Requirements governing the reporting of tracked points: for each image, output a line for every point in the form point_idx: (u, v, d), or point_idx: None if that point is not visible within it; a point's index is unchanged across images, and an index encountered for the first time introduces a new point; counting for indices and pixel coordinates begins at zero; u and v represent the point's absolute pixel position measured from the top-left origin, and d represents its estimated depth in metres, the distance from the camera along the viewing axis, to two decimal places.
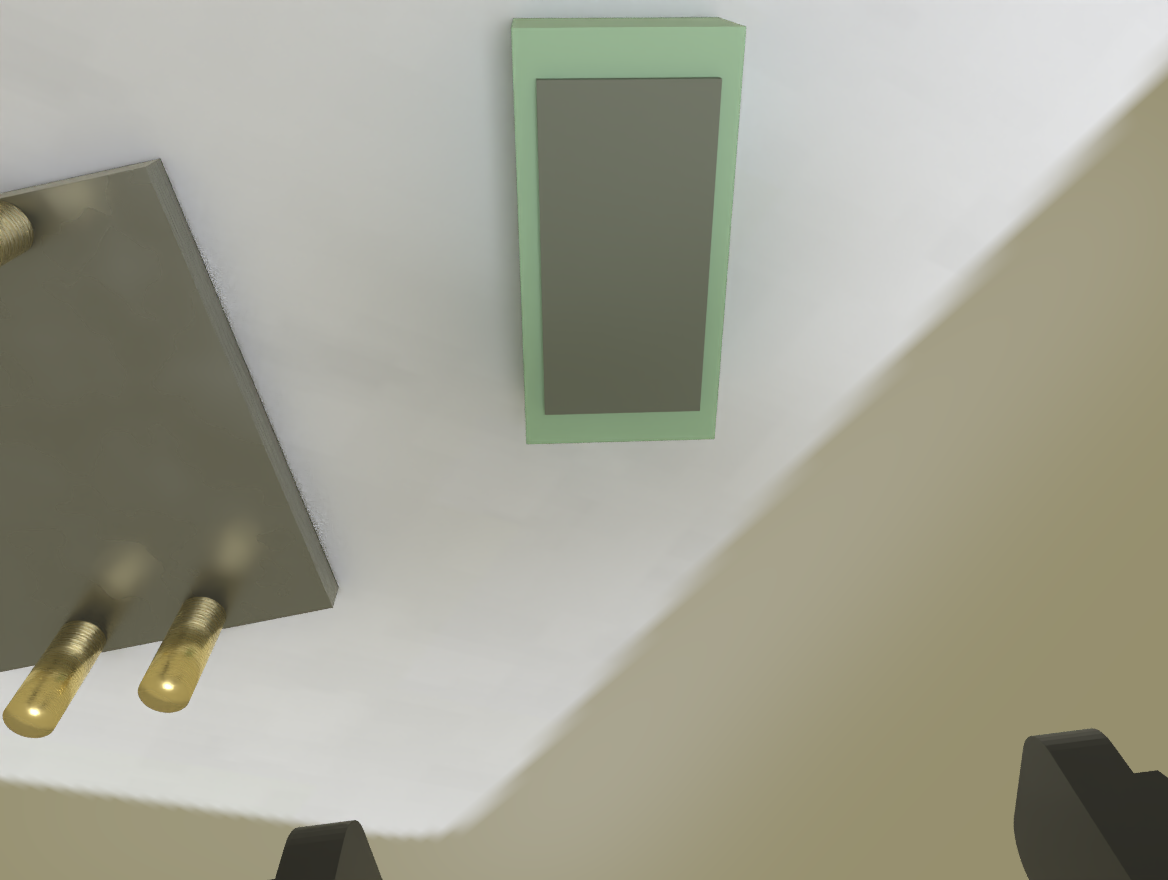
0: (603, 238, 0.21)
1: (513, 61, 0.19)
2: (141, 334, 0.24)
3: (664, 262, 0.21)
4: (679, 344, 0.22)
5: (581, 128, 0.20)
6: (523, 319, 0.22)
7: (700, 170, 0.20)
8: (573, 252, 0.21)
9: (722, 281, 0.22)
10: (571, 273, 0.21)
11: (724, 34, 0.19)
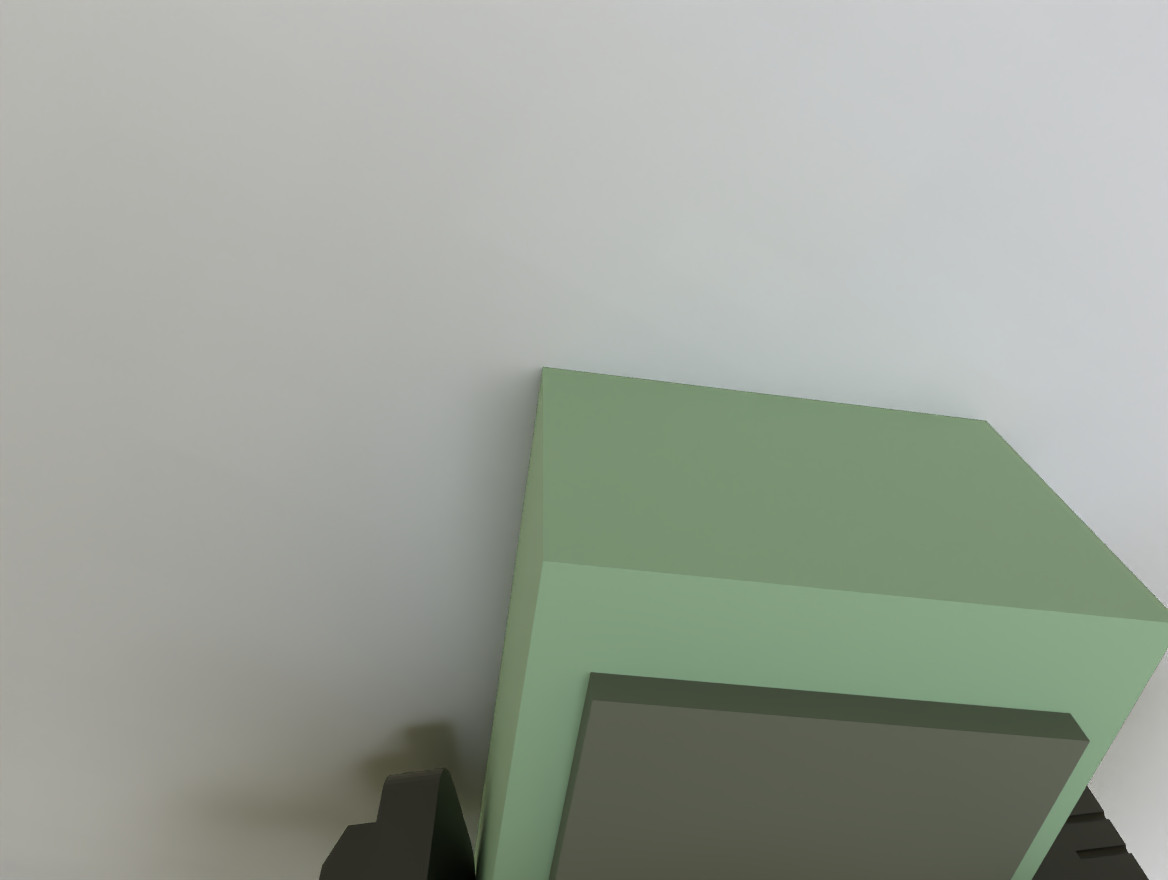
0: None
1: (535, 630, 0.07)
2: None
3: None
4: None
5: (691, 800, 0.07)
6: None
7: None
8: None
9: None
10: None
11: (1119, 633, 0.07)
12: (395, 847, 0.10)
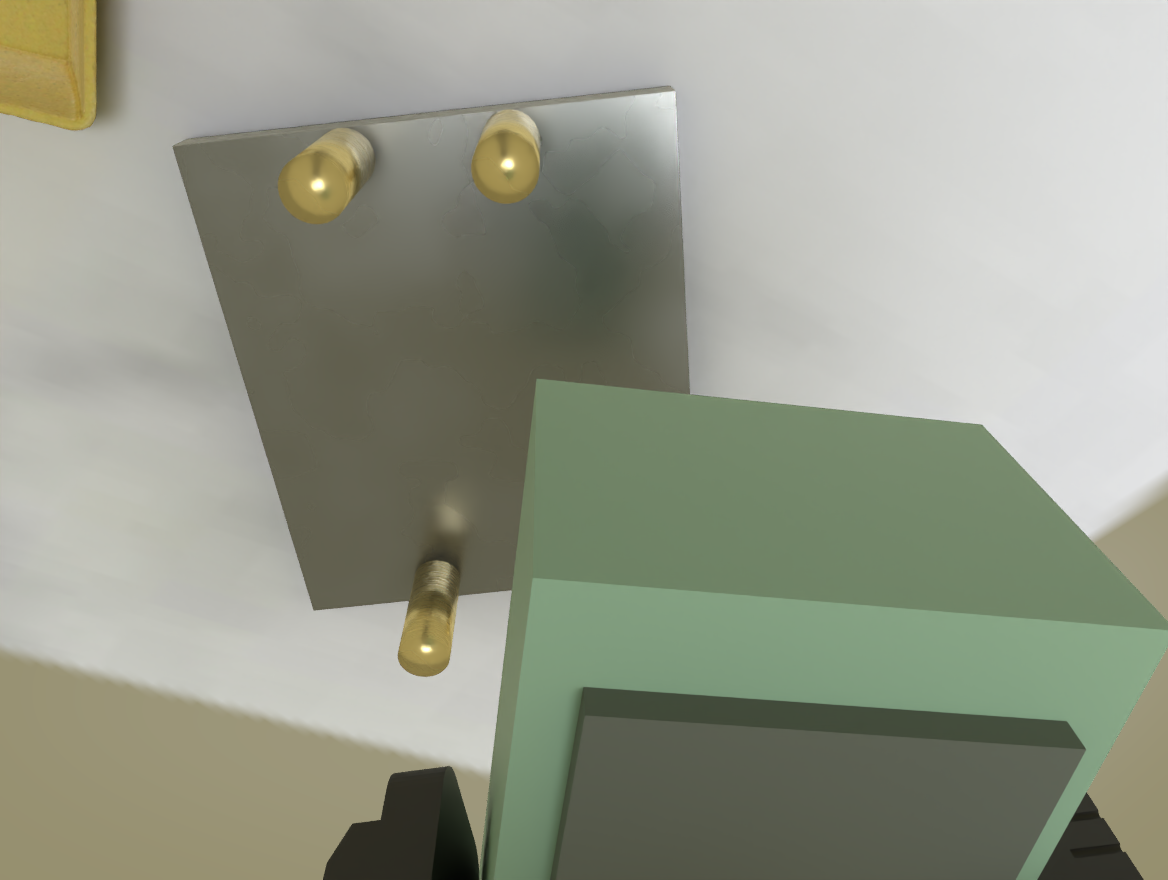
0: None
1: (526, 646, 0.07)
2: (609, 266, 0.23)
3: None
4: None
5: (686, 813, 0.07)
6: None
7: None
8: None
9: None
10: None
11: (1114, 640, 0.07)
12: (399, 845, 0.10)
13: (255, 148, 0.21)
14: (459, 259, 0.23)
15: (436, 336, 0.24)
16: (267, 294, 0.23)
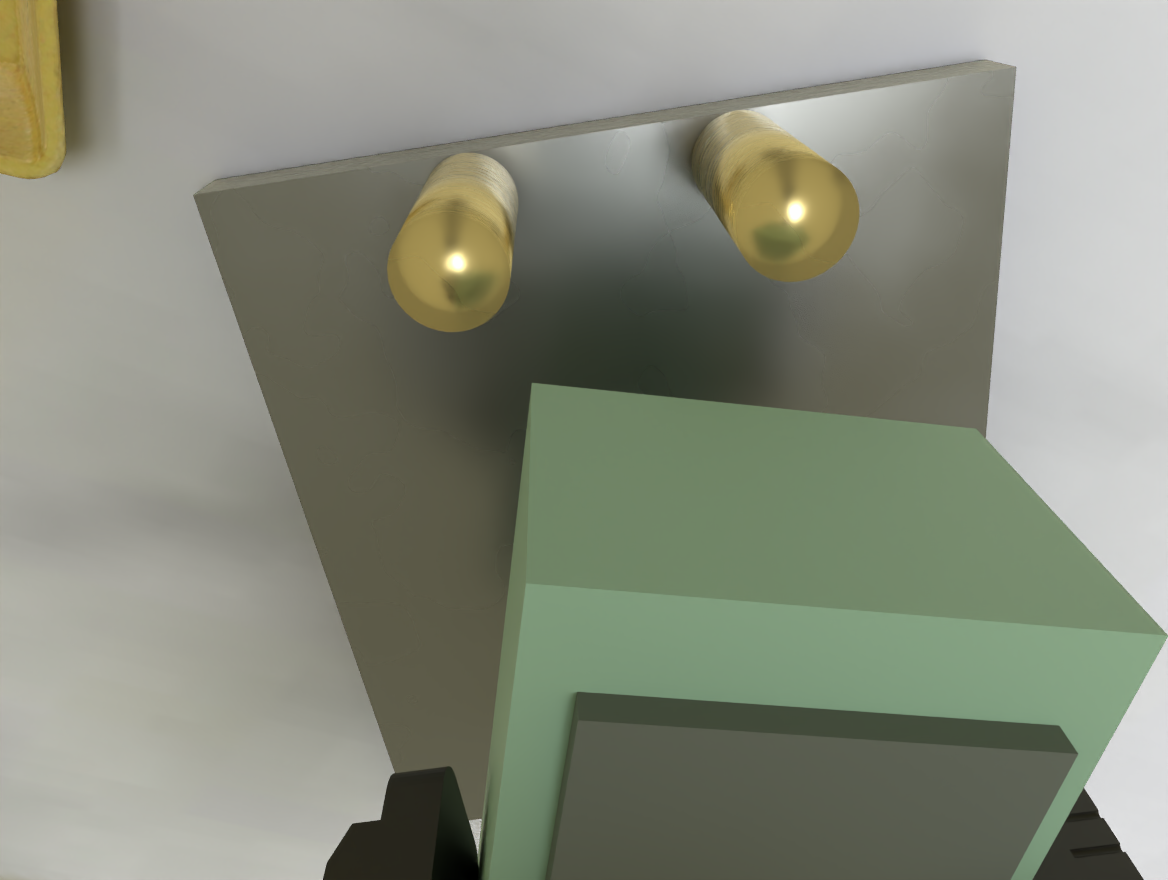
0: None
1: (520, 651, 0.07)
2: (876, 348, 0.15)
3: None
4: None
5: (680, 817, 0.07)
6: None
7: None
8: None
9: None
10: None
11: (1106, 646, 0.07)
12: (399, 844, 0.10)
13: (326, 192, 0.13)
14: (644, 347, 0.15)
15: None
16: (346, 413, 0.15)
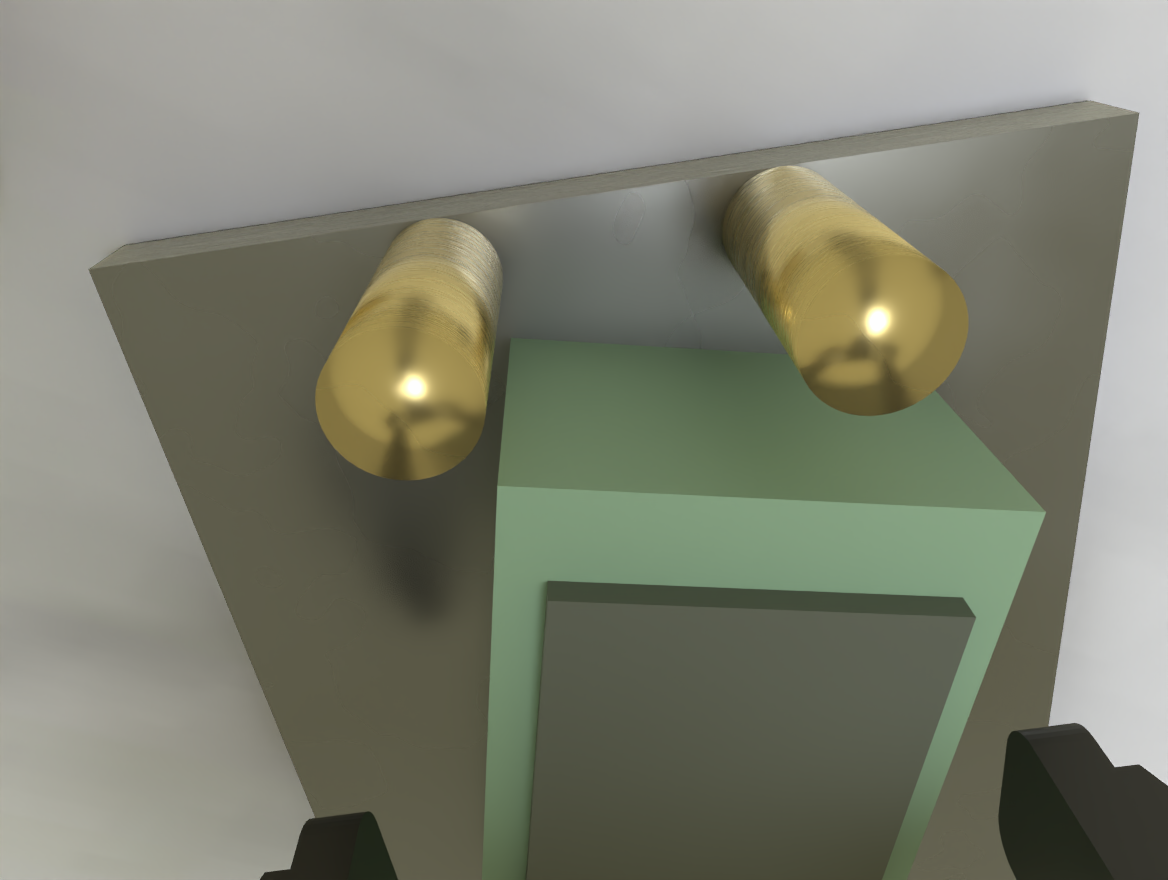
0: (663, 857, 0.10)
1: (497, 546, 0.08)
2: None
3: None
4: None
5: (641, 687, 0.09)
6: None
7: (890, 764, 0.09)
8: (596, 875, 0.10)
9: None
10: None
11: (994, 523, 0.08)
12: None
13: (258, 266, 0.10)
14: None
15: None
16: (292, 529, 0.12)
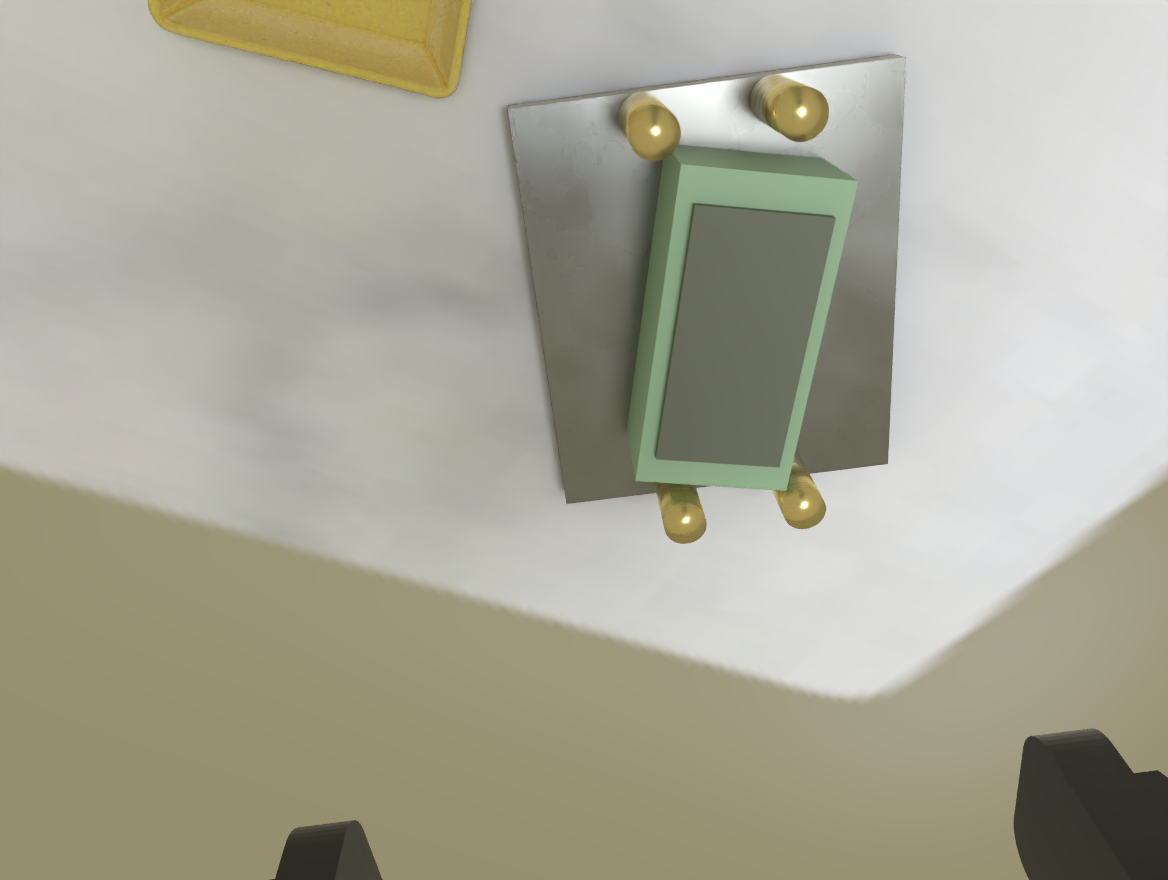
0: (726, 327, 0.26)
1: (678, 188, 0.25)
2: None
3: (770, 349, 0.27)
4: (771, 413, 0.28)
5: (723, 243, 0.25)
6: (651, 382, 0.27)
7: (809, 283, 0.26)
8: (701, 335, 0.26)
9: (811, 367, 0.27)
10: (696, 351, 0.27)
11: (841, 185, 0.25)
12: None
13: (572, 109, 0.27)
14: None
15: None
16: (565, 230, 0.29)
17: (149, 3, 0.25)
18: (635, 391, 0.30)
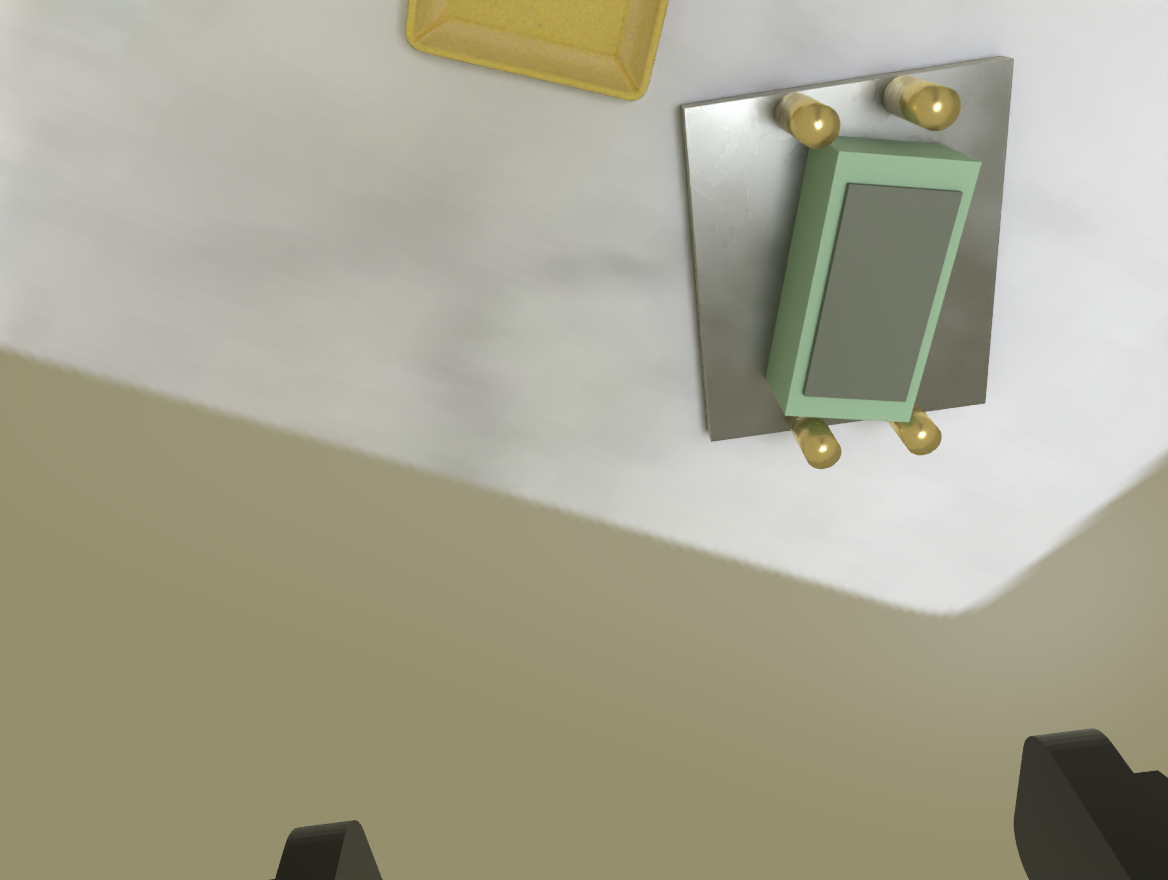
0: (868, 284, 0.32)
1: (835, 171, 0.31)
2: None
3: (903, 302, 0.33)
4: (901, 356, 0.34)
5: (870, 215, 0.31)
6: (803, 331, 0.33)
7: (938, 246, 0.32)
8: (847, 291, 0.32)
9: (935, 317, 0.33)
10: (843, 304, 0.33)
11: (968, 165, 0.31)
12: None
13: (736, 107, 0.33)
14: None
15: None
16: (725, 207, 0.35)
17: (406, 28, 0.31)
18: (778, 342, 0.36)
